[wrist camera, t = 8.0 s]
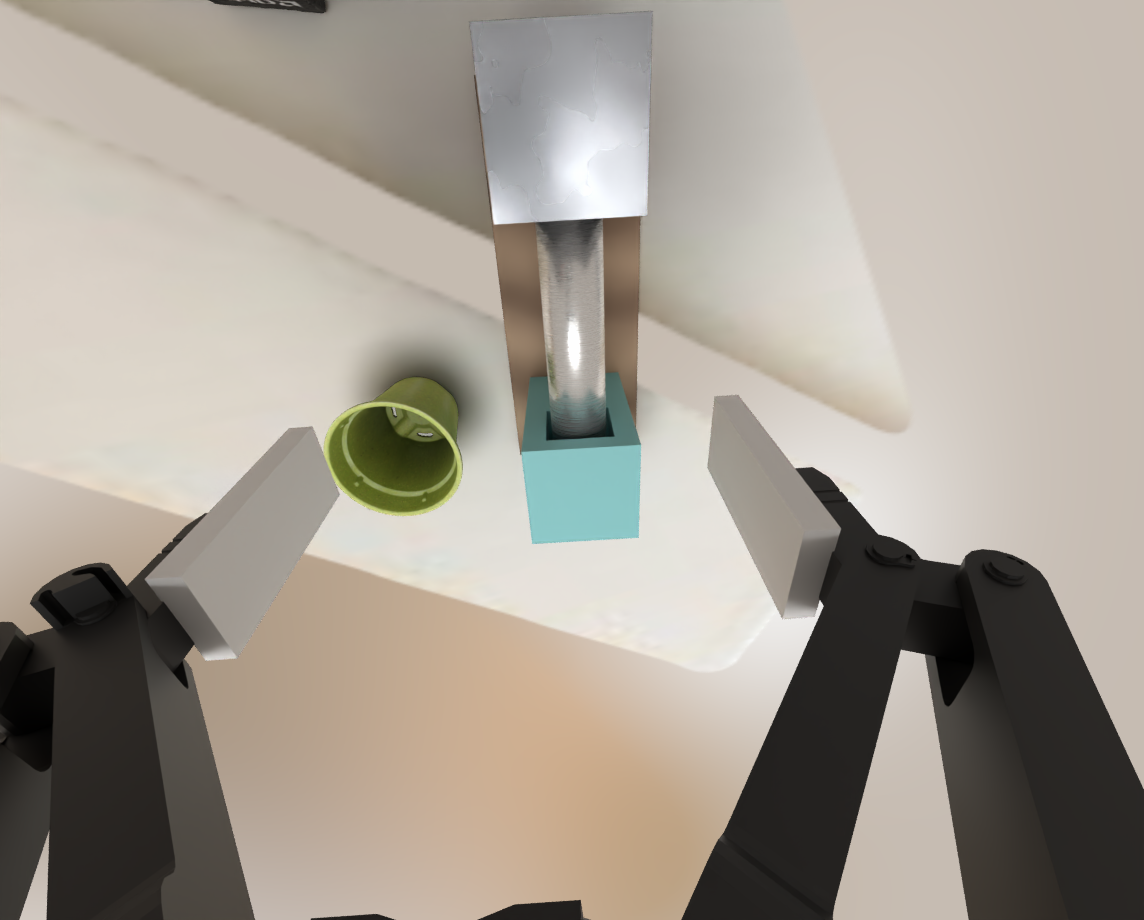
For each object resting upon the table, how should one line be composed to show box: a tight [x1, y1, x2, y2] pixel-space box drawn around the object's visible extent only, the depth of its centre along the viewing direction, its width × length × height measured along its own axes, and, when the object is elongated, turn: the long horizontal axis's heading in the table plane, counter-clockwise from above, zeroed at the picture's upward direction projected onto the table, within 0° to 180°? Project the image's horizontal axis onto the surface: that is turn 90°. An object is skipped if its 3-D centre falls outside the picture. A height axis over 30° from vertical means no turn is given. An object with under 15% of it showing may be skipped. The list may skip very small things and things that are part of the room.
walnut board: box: [474, 75, 640, 455], centre depth 36 cm, size 26×10×2 cm, turn 3°
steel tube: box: [535, 218, 606, 440], centre depth 29 cm, size 17×4×4 cm, turn 3°
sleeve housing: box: [469, 11, 652, 225], centre depth 25 cm, size 7×7×12 cm
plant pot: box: [324, 377, 463, 516], centre depth 38 cm, size 9×9×9 cm
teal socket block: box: [521, 372, 641, 544], centre depth 35 cm, size 7×7×12 cm
